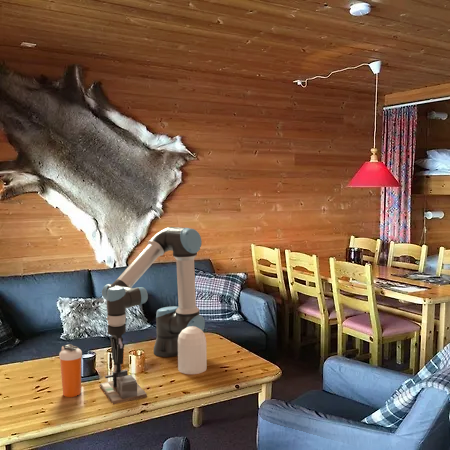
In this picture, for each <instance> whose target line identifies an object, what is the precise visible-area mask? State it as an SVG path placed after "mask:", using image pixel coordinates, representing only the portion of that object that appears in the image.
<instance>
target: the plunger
mask: <svg viewBox="0 0 450 450" xmlns="http://www.w3.org/2000/svg"><path fill="white" fill-rule="evenodd" d="M127 375H129V374H128V369H123V370H122V369H121V371H115V372H114V371H112V374H108V375H105V376H104V378H105V379H110V378H112V381H113V387H117V377H122V376H127Z"/></svg>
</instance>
